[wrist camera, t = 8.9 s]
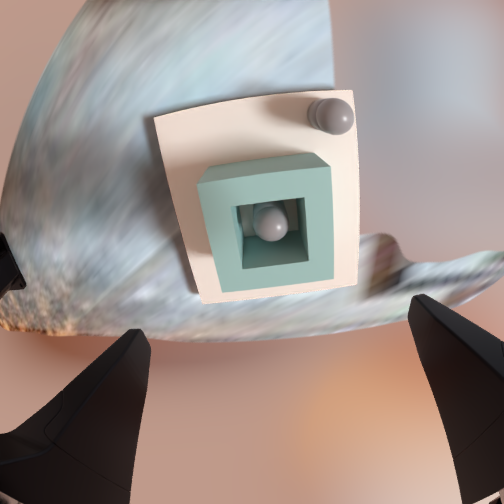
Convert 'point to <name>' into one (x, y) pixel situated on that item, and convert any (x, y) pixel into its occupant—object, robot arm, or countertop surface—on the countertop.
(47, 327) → the countertop surface
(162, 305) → the countertop surface
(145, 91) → the countertop surface
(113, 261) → the countertop surface
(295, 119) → the base plate
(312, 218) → the block with square hole
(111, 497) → the robot arm
